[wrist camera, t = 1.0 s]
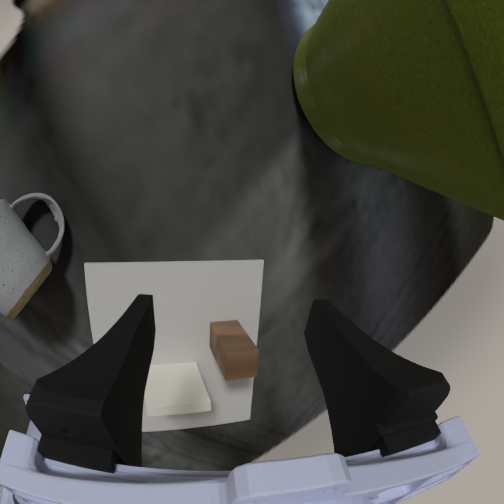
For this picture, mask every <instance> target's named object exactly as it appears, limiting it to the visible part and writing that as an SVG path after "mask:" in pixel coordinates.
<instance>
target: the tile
mask: <svg viewBox="0 0 504 504" xmlns="http://www.w3.org/2000/svg"><path fill="white" fill-rule="evenodd" d="M145 403H146V410H147V416H164V415H177V414H188V413H197V412H206V411H211V401H210V398H209V396H208V393H207V390H206V388H205V385H204V382H203V380H202V377H201V374H200V371H199V369H198V366H197V363H196V362H191V363H177V364H161V365H150V369H149V374H148V378H147V383H146V388H145Z"/></svg>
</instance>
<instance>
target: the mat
mask: <svg viewBox="0 0 504 504" xmlns="http://www.w3.org/2000/svg"><path fill="white" fill-rule="evenodd" d="M263 266H264V260H223V261H170V262H104V263H84V268H85V281H86V291H87V300H88V309H89V317H90V324H91V331H92V337H93V343H94V344H95V343H96V342H97V341H98V340H99V339H100V338H102V337H103V336H104V335H105V334H106V332H107V331H108V330H109V329H110V328H111V327H112V326H113V325H114V324H115V323H116V322H117V321H118V319H119V318H120V317H121V316H122V315H123V313H124V312H125V311H126V310H127V308H128V307H129V306H130V305H131V303H132V302H133V301H134V299H135V298H136V297H137V295H139V294H148V295H153V305H154V317H155V327H156V333H155V342H154V351H153V355H152V360H151V364H150V365H161V364H177V363H191V362H196V363H197V366H198V369H199V371H200V374H201V377H202V380H203V382H204V385H205V388H206V390H207V393H208V396H209V398H210V401H211V411H206V412H197V413H188V414H177V415H164V416H147V410H146V403H145V394H144V403H143V417H142V432H149V431H164V430H177V429H187V428H196V427H204V426H212V425H219V424H226V423H232V422H238V421H244V420H249V419H250V413H251V402H252V391H253V381H254V377H252V378H245V379H238V380H230V381H225V379H224V377H223V375H222V372H221V370H220V368H219V366H218V364H217V362H216V360H215V357H214V355H213V353H212V351H211V349H210V347H209V344H210V322H217V321H230V320H238V322H239V323H240V324H241V326H242V327H243V329H244V330H245V331H246V333H247V334H248V336H249V337H250V338H251V340H252V341H253V343H254V344H255V345H256V347H257V337H258V325H259V314H260V302H261V290H262V278H263Z"/></svg>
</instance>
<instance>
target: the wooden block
mask: <svg viewBox="0 0 504 504" xmlns="http://www.w3.org/2000/svg"><path fill="white" fill-rule="evenodd" d="M209 347H210V349H211V351H212V353H213V355H214V357H215V360H216V362H217V364H218V366H219V368H220V370H221V372H222V375H223V377H224V379H225V381H230V380H238V379H245V378H252V377H257V367H258V357H259V349H258V348H257V347H256V345H255V344H254V343H253V341H252V340H251V338H250V337H249V336H248V334H247V333H246V331H245V330H244V329H243V327H242V326H241V324H240V323H239V322H238V320H230V321H217V322H210V344H209Z"/></svg>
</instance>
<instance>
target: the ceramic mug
mask: <svg viewBox="0 0 504 504" xmlns="http://www.w3.org/2000/svg"><path fill="white" fill-rule="evenodd" d="M34 199H40V200H43V201H44V202H46V204H47V205H48V207H49V208H50V210H51V211H52V213H53V215H54V217H55V221H56V222H57V223H58V225H59V228H60V230H59V235H58V238H57V240H56V242H55V243H54V245H53V246H52V248H51V249H50V250H49V251H47V252H46V251H45V250H44V249H43V247H42V246H41V245H40V244H39V242H38V241H37V240H36V239H35V237H34V236H33V235H32V234H31V233H30V232H29V230H28V229H27V227H26V226H25V225H24V223H23V222H22V220H21V219H20V218H19V216H18V215H17V213H16V212H15V209H16V208H17V207H18V206H20V205H21V204H23V203H25V202H27V201H30V200H34ZM64 229H65V222H64V216H63V213H62V211H61V209H60V207H59V206H58V204H57V203H56V201H55V200H54V199H53V198H52V197H50V196H48V195H46V194H43V193H32V194H28V195H25V196H23V197H21V198H19V199H18V200H16V201H15V202H14V203H12V204H9V203H8V201H7V200H4V199H3V200H0V313H1V314H3V315H4V316H6V317H8V318H15V317H16V316H17V315H18V314H19V312H20V311H21V310H22V309H23V307H24V306H25V305H26V304H27V302H28V301H29V300H30V298H31V297H32V296H33V294H34V293H35V292H36V291H37V289H38V288H39V287H40V286H41V284H42V283H43V282H44V280H45V279H46V278H47V276H48V275H49V274H50V272H51V270H52V262H51V260H50V256H51V254H52V253H53V252H54V251H55V250H56V248H57V247H58V245H59V244H60V242H61V240H62V237H63V234H64Z"/></svg>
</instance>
